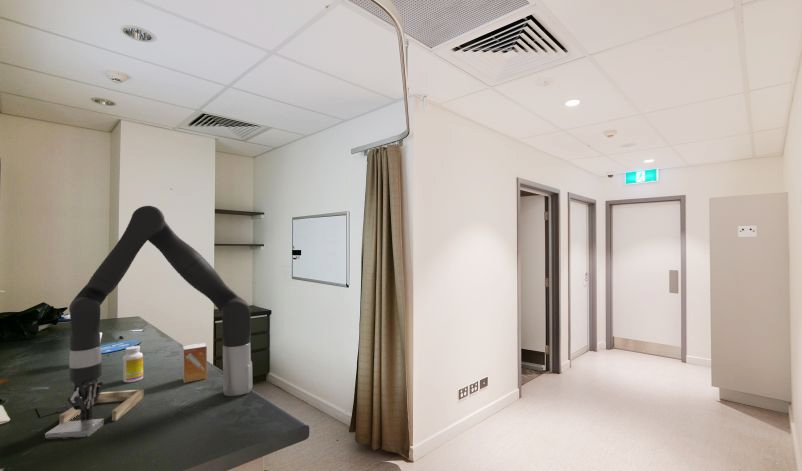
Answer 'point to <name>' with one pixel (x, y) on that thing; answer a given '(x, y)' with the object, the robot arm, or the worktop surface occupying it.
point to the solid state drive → (63, 408)
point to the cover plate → (75, 428)
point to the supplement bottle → (132, 364)
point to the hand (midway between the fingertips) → (86, 420)
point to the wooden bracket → (127, 396)
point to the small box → (194, 362)
